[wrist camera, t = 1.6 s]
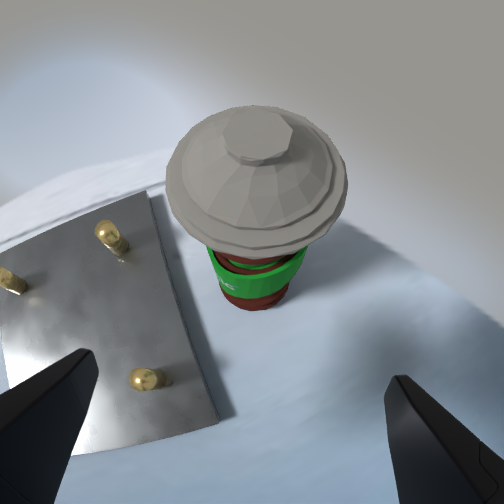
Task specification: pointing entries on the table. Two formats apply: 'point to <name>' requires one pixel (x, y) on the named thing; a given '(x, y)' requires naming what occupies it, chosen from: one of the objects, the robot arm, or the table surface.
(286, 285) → the shock absorber
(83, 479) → the table surface
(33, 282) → the plate
